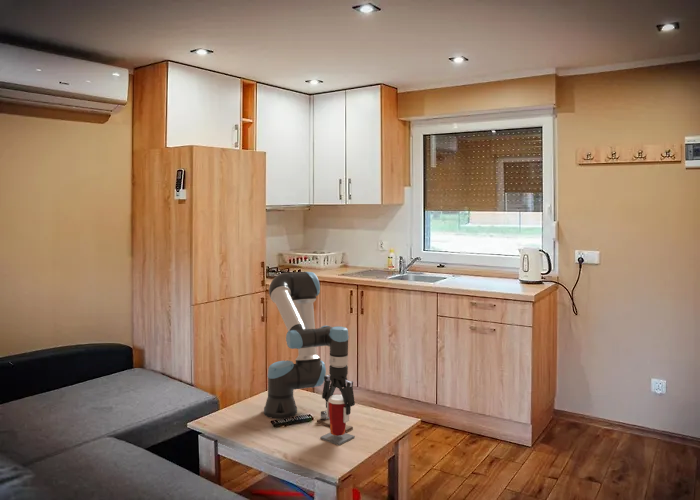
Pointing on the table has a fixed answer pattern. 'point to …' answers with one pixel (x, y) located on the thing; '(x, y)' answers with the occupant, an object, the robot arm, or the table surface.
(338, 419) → the coffee cup
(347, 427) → the base
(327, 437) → the slate pad
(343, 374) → the robot arm
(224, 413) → the table surface
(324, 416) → the bar
